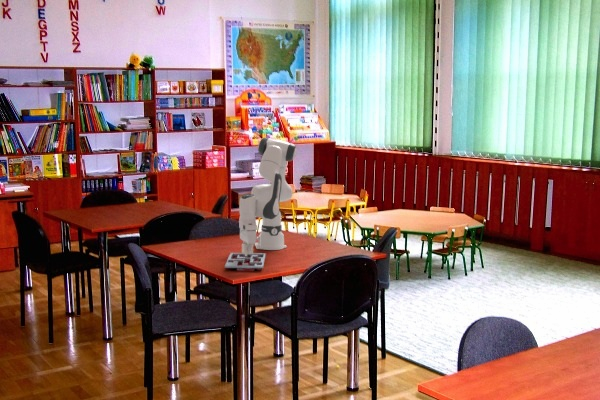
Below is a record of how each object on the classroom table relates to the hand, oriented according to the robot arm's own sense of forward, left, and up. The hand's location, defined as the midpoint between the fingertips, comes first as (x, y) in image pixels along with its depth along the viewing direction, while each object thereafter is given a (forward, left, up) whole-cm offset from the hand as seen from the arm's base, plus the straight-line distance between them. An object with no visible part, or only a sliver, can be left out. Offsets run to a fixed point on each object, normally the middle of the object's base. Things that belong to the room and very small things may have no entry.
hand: (247, 250), depth 386 cm
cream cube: (0, 0, -2) cm, 2 cm away
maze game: (-1, -1, -9) cm, 9 cm away
